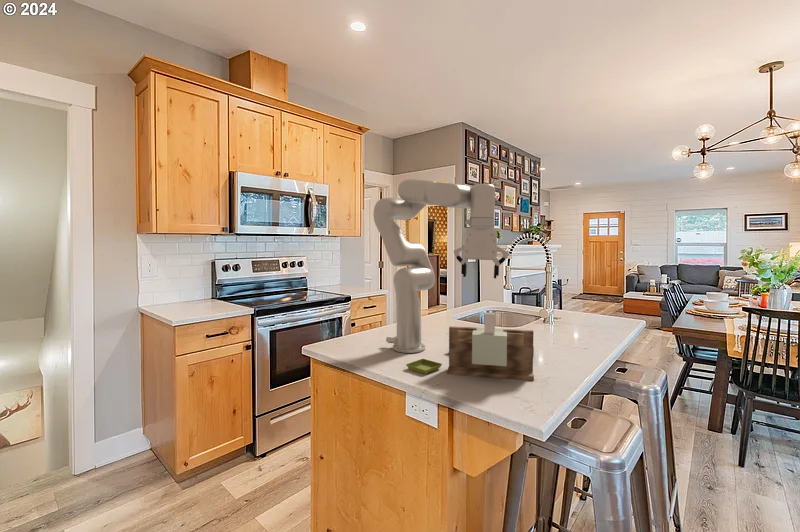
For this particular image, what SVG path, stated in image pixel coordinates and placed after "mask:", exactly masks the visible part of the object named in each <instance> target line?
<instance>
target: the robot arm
mask: <svg viewBox="0 0 800 532" xmlns="http://www.w3.org/2000/svg"><path fill="white" fill-rule="evenodd" d="M397 195H398V196H399V198H398V197H382V198H380V199H379V200H377V202H376V203H375V204H374V207H373V212H372V213H373V214H372V215H373V220H374V221H373V222H374V224H375V226H376V229H377V230H378V233H379V234H380V237H381V239H382V243H383V244H384V248H385V250H386V253H387V256H388V259H389V261H390V263H391V264H392V265H393V266H394V267H398V268H399V267H403V268H400V269H397V271H395V273H394V275H393V285H394V292H395V299H396V301H395V302H396V304H395V305H396V309H395V310H396V336H394V337H391V336H386V340H385V341H386V343H388V344H393V345H392V350H393V351H395V352H398V353H402V354H416V353H420V352H423V351H425V349H426V345H425V344H424V343H422V303H421V299H420V296H419V295H418V292H420V291H422V292H423V291H427V290H430V289H432V288H433V287H434V285H435V283H436V275H435V272H434V268H433V266H432V263H431V260H430V258H429V255H428V253H427V250H426V248H425V247H424V246H423V244H421V243H419V242H417V241H416V242H414V241H408V240H406V238H405V236H404V232H403V230H402V228H401V227H400V226H399V225H398V224H397V223H396V222H395V221H397V220H399V221H409V220H411V219H414V218H415V217H416V216H418V214H419V213H420V212H421V211H422V210H423V209H424V208H425V207H426V206H427V205H429V206H437V207H444V208H454V209H469V210H470V211H469V212H470V213H469V215H470V216H469V217H470V218H468V219H466V220H465V221H464V224H465V225H468V226H469V227H467V228H466V232H465V239H464V245H463V246H461V247H459V248H456V249H453V254H454V256H455V258H456V260H457V261H458V262H459V263H460V265H461V275H463V278H465V277H467V274H468V273H467V272H468V271H467V268H468V266H467V265H468V264H467V261H469V260H480V261H492V262H493V263H494V266H493V279H497V277H498V276H500V266H501V265H502V264H503V263H504V262H505V261H506V259H507V258H508V256H509V254H510V253H509V252H508V251H507V250H506V249H503V248H502V247H501V246H498V233H497V228H495V211H496V210H495V207H496V205H495V204H496V187H495V186H494V185H493V184H491V183H478V184H474V185H466V184H465V185H464V184H459V183H450V182H438V181H435V180H428V179H427V180H426V179H425V180H424V179H417V178H415V179H412V178H408V179H404V180H402V181H401V182H400V183H399V184H398V186H397ZM460 252H464V253H463V257H462V256H461V255H460ZM498 252H500V253H501V254H502V256H501V258H500V259H499V260H498V258H497V255H498Z"/></svg>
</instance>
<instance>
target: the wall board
mask: <svg viewBox="0 0 800 532" xmlns="http://www.w3.org/2000/svg"><path fill="white" fill-rule="evenodd" d="M477 328H478V327H470V326H451V325H450V326H449V327H448V368H447V373H446V374H447V375H456V374H458V375H460V376H473V377H484V378H497V379H498V378H499V379H511V380H512V379H513V380H523V381H524V380H525V381H534V380H535V377H534V376H535V375H534V369H533V368H534V355H533V347H534V330H533V329H532V330H531V329H529V330H528V329H512V328H511V329H510V328H502V329H503V332H507V366H495V365H481V364H472V333H473V330H477Z"/></svg>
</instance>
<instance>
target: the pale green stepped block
mask: <svg viewBox="0 0 800 532" xmlns="http://www.w3.org/2000/svg"><path fill="white" fill-rule="evenodd" d="M483 324H484V327H476V328H477V330H473V333H472V364H481V365H495V366H507V332H503V329H504V328H496V312H484V323H483Z"/></svg>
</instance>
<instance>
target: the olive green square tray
mask: <svg viewBox="0 0 800 532" xmlns="http://www.w3.org/2000/svg"><path fill="white" fill-rule="evenodd" d="M442 365H443V363H442V362H441V363H440V362H436V361H433V360H429V359H425V358H421V359H417V360H415V361H411V362H409V363H406V364H405V366H406V367H407V368H408V369H409V370H410V369H411V370H410V371H413V370H414V371H413V372H418V373H421V374H423V373H424V375H426V374H429V372H430V373H432V372H434V371H436V370H438V369H440V368H441V366H442Z"/></svg>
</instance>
